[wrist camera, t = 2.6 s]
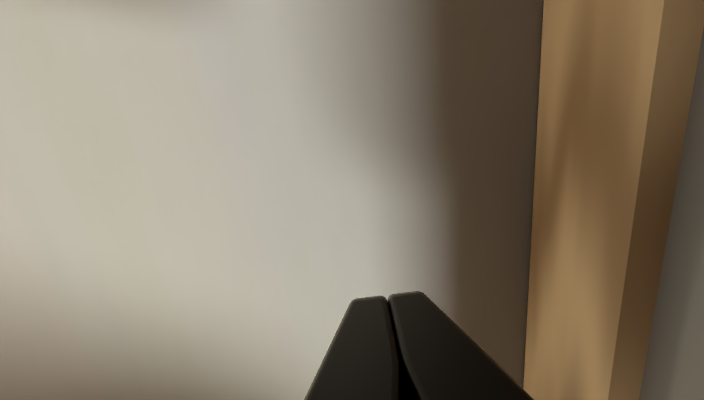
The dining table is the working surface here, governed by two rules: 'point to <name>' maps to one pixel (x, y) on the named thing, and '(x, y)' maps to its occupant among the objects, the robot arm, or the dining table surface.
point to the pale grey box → (682, 275)
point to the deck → (604, 188)
